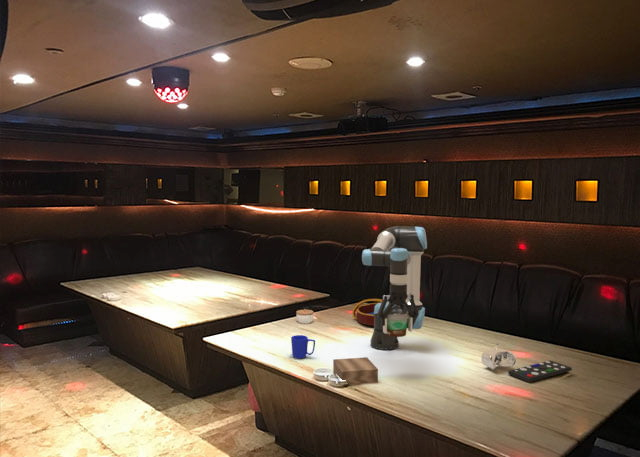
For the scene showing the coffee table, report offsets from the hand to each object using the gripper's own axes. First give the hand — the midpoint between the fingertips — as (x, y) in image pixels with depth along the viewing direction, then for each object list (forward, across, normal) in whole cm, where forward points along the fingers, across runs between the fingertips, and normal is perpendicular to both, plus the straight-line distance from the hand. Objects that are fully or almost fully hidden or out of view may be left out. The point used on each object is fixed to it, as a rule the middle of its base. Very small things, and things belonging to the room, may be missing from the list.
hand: (397, 331), depth 222 cm
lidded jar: (+20, +23, -96) cm, 101 cm away
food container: (+2, 0, 0) cm, 2 cm away
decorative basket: (+21, -22, -92) cm, 97 cm away
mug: (+20, +36, -33) cm, 53 cm away
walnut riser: (+20, +19, -2) cm, 28 cm away
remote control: (+21, -68, +7) cm, 71 cm away
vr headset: (+21, -52, -1) cm, 55 cm away
